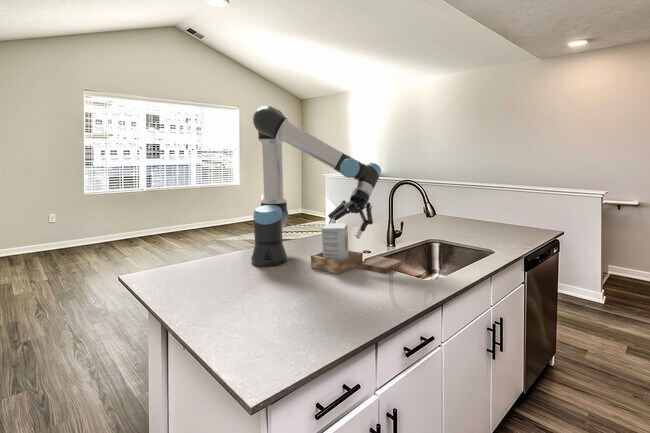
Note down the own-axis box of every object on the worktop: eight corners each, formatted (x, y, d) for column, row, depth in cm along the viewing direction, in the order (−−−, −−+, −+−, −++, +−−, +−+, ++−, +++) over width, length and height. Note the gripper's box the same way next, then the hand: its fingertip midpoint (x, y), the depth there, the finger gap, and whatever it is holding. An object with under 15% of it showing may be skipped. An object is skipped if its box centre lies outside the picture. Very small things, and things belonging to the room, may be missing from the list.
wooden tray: (311, 267, 153) (310, 255, 153) (335, 258, 166) (334, 247, 165) (339, 274, 145) (339, 261, 144) (362, 264, 157) (362, 252, 156)
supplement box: (346, 270, 150) (344, 228, 146) (323, 269, 151) (321, 228, 148) (349, 262, 159) (347, 222, 155) (327, 261, 161) (325, 222, 157)
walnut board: (359, 267, 153) (359, 263, 152) (376, 260, 163) (376, 255, 162) (385, 273, 145) (385, 268, 145) (401, 265, 155) (401, 260, 155)
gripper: (391, 201, 158) (372, 244, 149) (340, 197, 173) (321, 236, 165) (384, 190, 153) (365, 233, 144) (333, 187, 168) (313, 226, 160)
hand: (341, 235), depth 154 cm, fingers open, 14 cm apart
